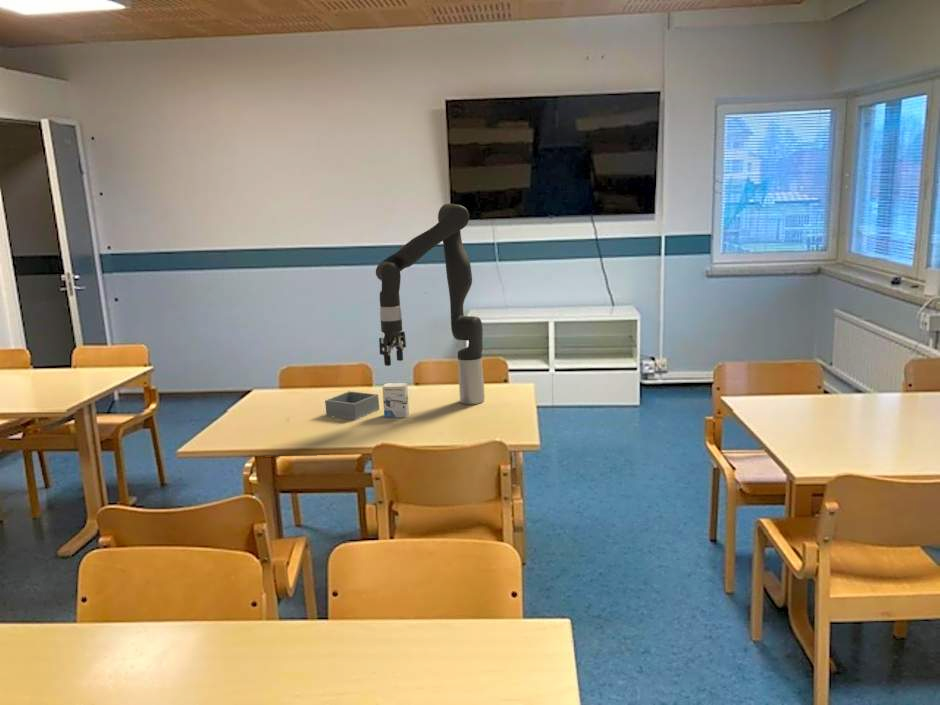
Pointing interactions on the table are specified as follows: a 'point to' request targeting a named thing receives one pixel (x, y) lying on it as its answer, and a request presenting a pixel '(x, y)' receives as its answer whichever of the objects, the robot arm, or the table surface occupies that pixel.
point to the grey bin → (352, 405)
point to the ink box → (395, 400)
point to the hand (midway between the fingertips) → (394, 362)
